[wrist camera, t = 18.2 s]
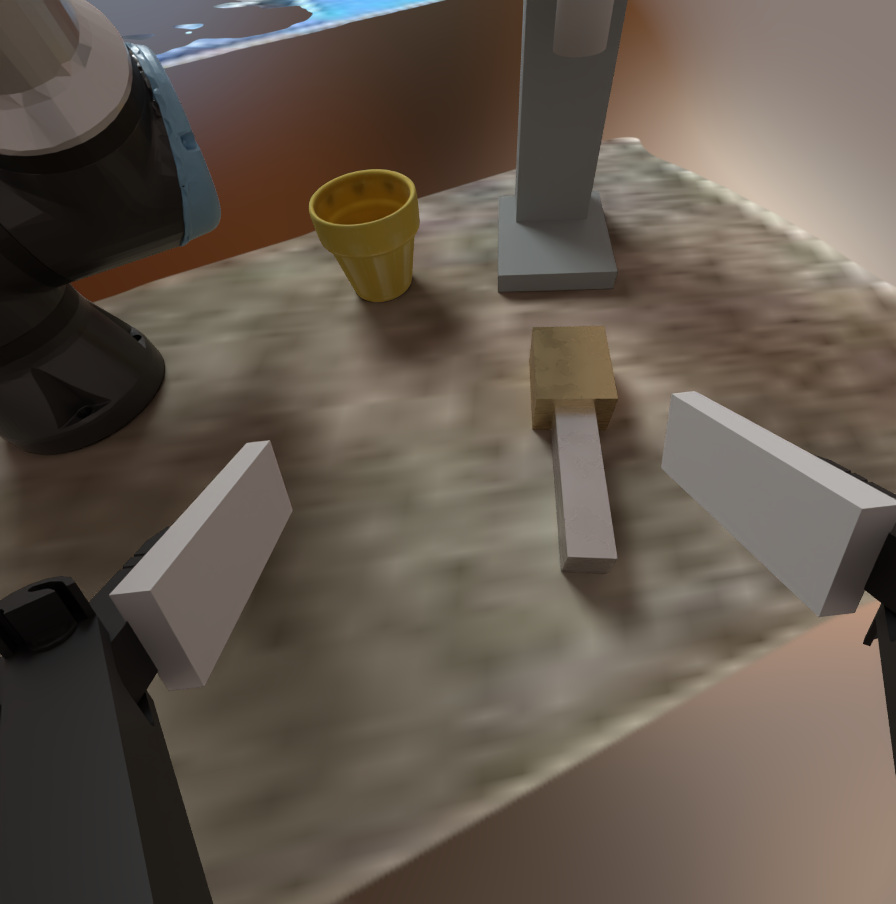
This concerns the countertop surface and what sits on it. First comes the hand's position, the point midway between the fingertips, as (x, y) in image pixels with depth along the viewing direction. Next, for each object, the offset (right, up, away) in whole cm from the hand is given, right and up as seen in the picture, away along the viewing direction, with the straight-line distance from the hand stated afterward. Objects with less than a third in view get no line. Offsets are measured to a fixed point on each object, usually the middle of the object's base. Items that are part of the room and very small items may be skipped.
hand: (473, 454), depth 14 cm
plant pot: (-8, +19, +34) cm, 40 cm away
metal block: (+9, -1, +19) cm, 21 cm away
